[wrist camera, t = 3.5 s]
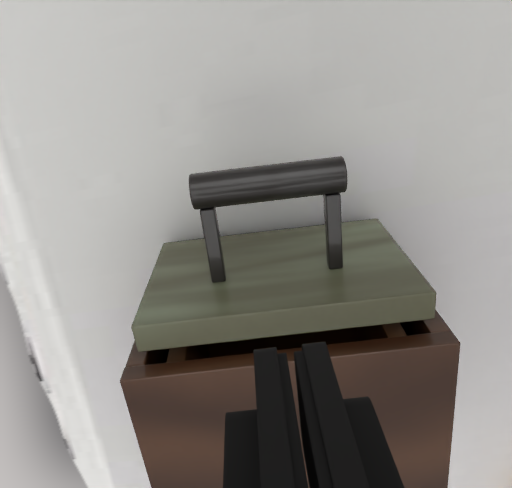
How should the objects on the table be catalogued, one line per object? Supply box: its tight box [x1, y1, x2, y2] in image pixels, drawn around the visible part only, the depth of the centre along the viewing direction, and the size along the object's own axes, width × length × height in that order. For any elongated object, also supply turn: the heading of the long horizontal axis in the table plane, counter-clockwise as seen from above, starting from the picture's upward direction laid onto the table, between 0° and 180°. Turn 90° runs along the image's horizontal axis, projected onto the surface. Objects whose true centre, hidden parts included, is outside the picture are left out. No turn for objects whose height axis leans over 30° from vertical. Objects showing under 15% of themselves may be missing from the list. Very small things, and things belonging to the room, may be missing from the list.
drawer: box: [132, 156, 436, 363], centre depth 22 cm, size 18×11×8 cm, turn 6°
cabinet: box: [120, 310, 460, 488], centre depth 24 cm, size 15×13×10 cm
